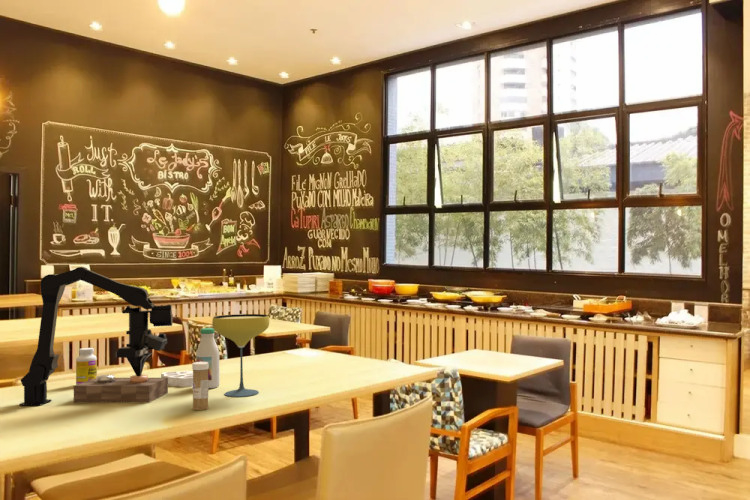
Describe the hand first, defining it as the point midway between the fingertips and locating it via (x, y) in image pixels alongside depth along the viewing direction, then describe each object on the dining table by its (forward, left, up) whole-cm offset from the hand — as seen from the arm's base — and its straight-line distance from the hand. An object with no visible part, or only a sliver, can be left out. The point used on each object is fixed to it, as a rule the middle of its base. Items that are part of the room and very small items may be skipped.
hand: (138, 376), depth 195 cm
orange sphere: (0, 0, -5) cm, 5 cm away
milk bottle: (+17, -17, -7) cm, 25 cm away
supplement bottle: (+20, +28, -7) cm, 35 cm away
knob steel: (0, +11, -5) cm, 12 cm away
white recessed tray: (+25, -4, -7) cm, 26 cm away
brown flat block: (0, +5, -7) cm, 9 cm away
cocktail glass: (+6, -32, -7) cm, 33 cm away
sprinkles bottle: (-15, -26, -7) cm, 30 cm away
